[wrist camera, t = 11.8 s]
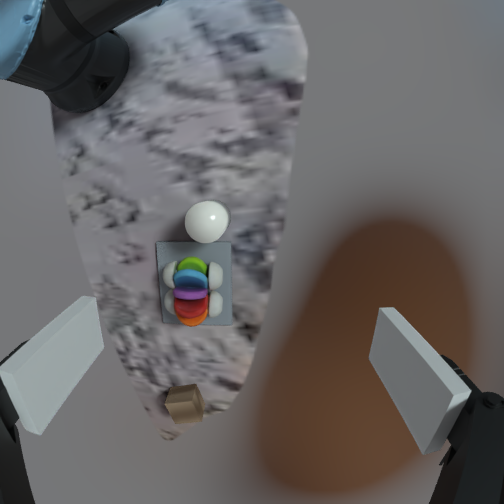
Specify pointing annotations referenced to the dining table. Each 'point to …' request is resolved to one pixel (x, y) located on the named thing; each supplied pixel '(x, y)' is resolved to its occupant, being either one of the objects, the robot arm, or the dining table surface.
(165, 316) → the felt mat
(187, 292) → the rainbow wheeled toy
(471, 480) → the robot arm
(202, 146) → the dining table surface
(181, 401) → the walnut block
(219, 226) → the white glossy rounded part
